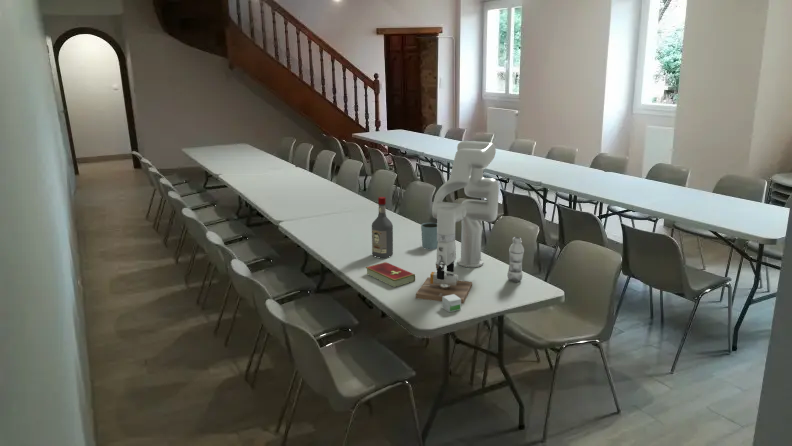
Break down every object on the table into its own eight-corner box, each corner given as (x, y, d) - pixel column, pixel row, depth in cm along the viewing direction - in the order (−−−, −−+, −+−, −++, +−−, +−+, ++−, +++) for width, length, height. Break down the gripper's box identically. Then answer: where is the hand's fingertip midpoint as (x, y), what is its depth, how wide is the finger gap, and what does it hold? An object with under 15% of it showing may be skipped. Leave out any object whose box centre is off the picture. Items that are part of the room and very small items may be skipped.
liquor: (380, 251, 302) (380, 194, 294) (395, 254, 297) (394, 197, 289) (369, 256, 295) (368, 198, 287) (384, 259, 290) (383, 200, 282)
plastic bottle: (512, 277, 266) (514, 234, 261) (525, 280, 262) (527, 238, 256) (504, 280, 262) (506, 237, 257) (516, 284, 257) (519, 241, 252)
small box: (449, 312, 230) (449, 301, 228) (441, 307, 235) (441, 295, 233) (461, 310, 232) (461, 298, 231) (453, 304, 237) (454, 293, 236)
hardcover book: (386, 269, 278) (386, 261, 277) (415, 282, 262) (415, 273, 261) (365, 275, 270) (365, 266, 269) (394, 288, 255) (394, 279, 254)
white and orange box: (457, 286, 250) (457, 273, 248) (455, 290, 246) (456, 277, 244) (432, 283, 252) (432, 271, 251) (429, 287, 248) (430, 274, 247)
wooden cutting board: (427, 281, 261) (427, 276, 261) (472, 286, 256) (472, 281, 255) (415, 298, 243) (415, 293, 243) (463, 303, 237) (463, 299, 237)
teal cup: (419, 249, 306) (419, 227, 302) (422, 243, 315) (422, 221, 312) (439, 250, 304) (439, 228, 301) (440, 244, 314) (441, 222, 310)
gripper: (445, 244, 234) (445, 283, 239) (462, 232, 248) (461, 270, 253) (428, 241, 237) (428, 280, 242) (446, 230, 252) (445, 267, 257)
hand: (445, 275), depth 248 cm, fingers open, 9 cm apart
